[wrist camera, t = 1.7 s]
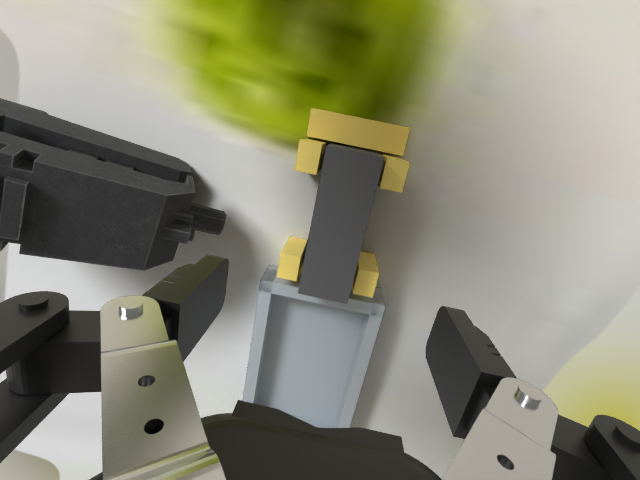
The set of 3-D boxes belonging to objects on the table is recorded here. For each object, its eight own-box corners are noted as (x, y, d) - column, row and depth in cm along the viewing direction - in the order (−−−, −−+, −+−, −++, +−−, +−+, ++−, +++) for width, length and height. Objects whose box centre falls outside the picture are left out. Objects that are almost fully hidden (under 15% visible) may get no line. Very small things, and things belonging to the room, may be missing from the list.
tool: (-61, 51, 22) (-314, 61, 11) (216, 151, 32) (246, 214, 21) (-65, 135, 24) (-284, 225, 12) (197, 205, 34) (215, 291, 23)
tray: (269, 264, 28) (260, 279, 26) (381, 289, 28) (385, 306, 25) (247, 405, 34) (237, 430, 31) (342, 426, 33) (341, 453, 31)
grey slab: (331, 143, 25) (326, 145, 19) (376, 152, 25) (384, 157, 19) (306, 268, 28) (295, 302, 23) (345, 276, 28) (345, 312, 23)
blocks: (312, 108, 24) (305, 103, 20) (408, 128, 24) (420, 127, 20) (282, 280, 29) (272, 302, 25) (363, 297, 29) (365, 322, 25)
